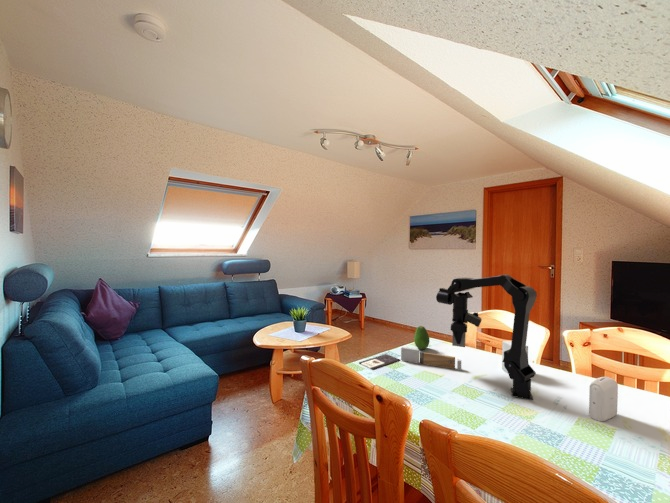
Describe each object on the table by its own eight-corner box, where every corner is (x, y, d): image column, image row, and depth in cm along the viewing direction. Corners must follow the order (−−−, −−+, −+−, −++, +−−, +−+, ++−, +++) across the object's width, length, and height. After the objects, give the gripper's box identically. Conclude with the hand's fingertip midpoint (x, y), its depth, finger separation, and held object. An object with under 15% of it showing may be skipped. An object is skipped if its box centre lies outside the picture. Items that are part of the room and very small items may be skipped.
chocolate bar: (400, 359, 145) (372, 368, 134) (400, 361, 145) (372, 370, 134) (386, 354, 152) (358, 362, 141) (386, 355, 152) (358, 364, 141)
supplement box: (528, 376, 129) (528, 346, 128) (510, 375, 129) (511, 345, 128) (518, 368, 136) (518, 340, 136) (501, 368, 136) (501, 340, 136)
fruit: (411, 347, 164) (411, 324, 164) (423, 345, 166) (424, 323, 166) (419, 352, 156) (419, 328, 156) (432, 350, 159) (433, 327, 158)
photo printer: (602, 423, 95) (603, 383, 94) (586, 416, 98) (587, 378, 98) (619, 415, 99) (620, 377, 99) (603, 409, 103) (604, 372, 103)
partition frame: (461, 370, 134) (461, 356, 134) (401, 360, 145) (401, 347, 145) (461, 368, 136) (461, 354, 136) (402, 358, 147) (402, 346, 147)
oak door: (454, 369, 134) (454, 358, 134) (419, 364, 141) (419, 352, 141) (455, 367, 137) (455, 356, 137) (419, 362, 143) (420, 351, 143)
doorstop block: (464, 347, 130) (465, 333, 130) (452, 345, 132) (452, 331, 132) (465, 344, 134) (465, 330, 133) (452, 342, 136) (453, 329, 135)
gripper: (481, 313, 120) (479, 352, 121) (480, 304, 137) (478, 339, 138) (451, 310, 125) (449, 348, 126) (453, 302, 142) (452, 335, 143)
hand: (458, 342), depth 133 cm, fingers closed on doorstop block, 4 cm apart
